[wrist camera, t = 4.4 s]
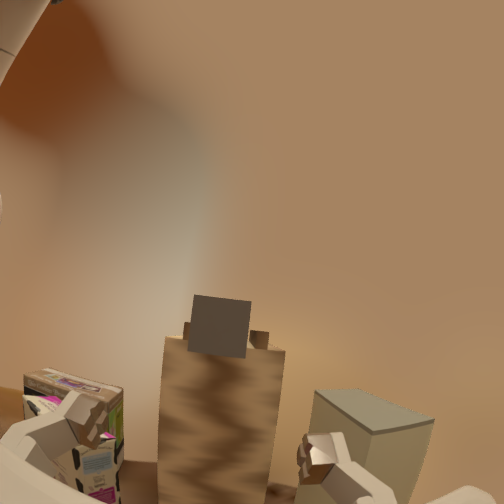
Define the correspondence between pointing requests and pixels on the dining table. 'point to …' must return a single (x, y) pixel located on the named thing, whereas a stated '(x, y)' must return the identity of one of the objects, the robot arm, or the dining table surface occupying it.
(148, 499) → the dining table surface
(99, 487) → the candy bar box
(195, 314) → the bar
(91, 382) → the tea box
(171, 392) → the stand
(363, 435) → the block
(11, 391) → the dining table surface
